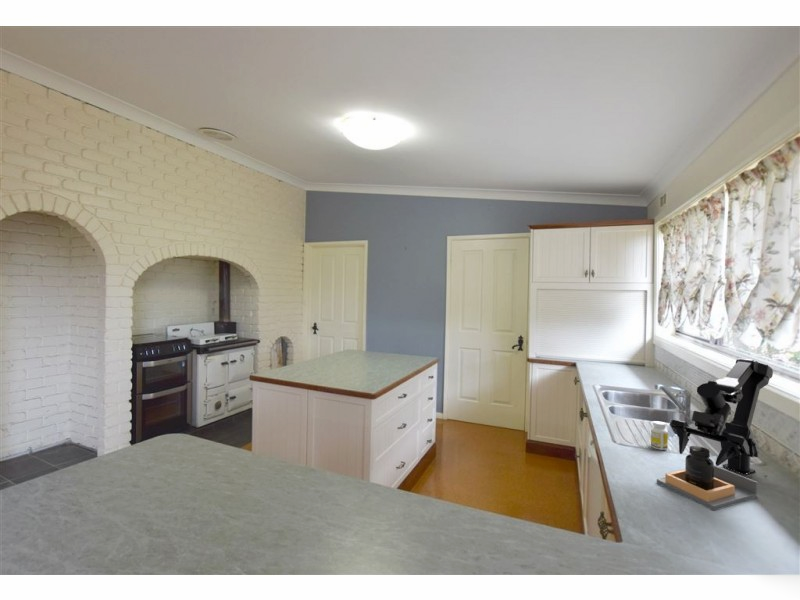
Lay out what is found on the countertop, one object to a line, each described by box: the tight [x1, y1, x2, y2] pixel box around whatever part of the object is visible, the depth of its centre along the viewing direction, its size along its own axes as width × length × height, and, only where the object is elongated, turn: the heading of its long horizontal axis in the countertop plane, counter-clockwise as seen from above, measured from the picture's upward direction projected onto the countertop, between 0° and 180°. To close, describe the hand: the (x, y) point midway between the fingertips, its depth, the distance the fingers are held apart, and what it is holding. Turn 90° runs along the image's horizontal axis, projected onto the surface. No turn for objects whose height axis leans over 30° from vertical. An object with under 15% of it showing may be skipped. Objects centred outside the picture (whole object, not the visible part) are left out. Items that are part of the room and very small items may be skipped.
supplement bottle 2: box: [684, 445, 715, 491], centre depth 114 cm, size 7×7×12 cm
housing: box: [656, 464, 759, 511], centre depth 115 cm, size 20×16×5 cm
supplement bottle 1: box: [650, 420, 669, 451], centre depth 147 cm, size 5×5×10 cm
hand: (697, 458), depth 113 cm, fingers open, 9 cm apart
